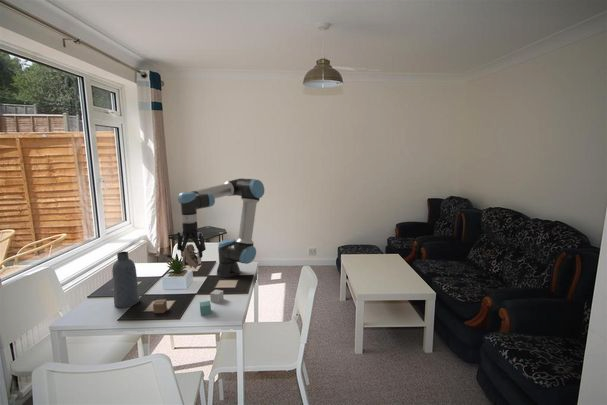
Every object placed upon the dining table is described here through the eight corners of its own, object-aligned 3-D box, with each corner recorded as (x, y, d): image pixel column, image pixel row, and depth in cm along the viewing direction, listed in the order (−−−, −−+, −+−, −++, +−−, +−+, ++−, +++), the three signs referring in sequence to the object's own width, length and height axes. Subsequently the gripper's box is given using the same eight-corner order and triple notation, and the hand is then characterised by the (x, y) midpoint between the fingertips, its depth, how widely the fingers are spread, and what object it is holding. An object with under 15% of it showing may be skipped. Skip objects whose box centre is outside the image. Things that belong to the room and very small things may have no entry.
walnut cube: (157, 308, 171) (156, 299, 170) (166, 308, 171) (166, 299, 171) (153, 313, 166) (152, 304, 165) (163, 313, 166) (163, 303, 166)
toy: (206, 263, 179) (197, 240, 173) (196, 273, 172) (187, 250, 166) (193, 262, 183) (184, 240, 176) (183, 272, 176) (173, 249, 169)
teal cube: (200, 311, 168) (199, 302, 167) (210, 309, 170) (209, 300, 169) (200, 316, 164) (200, 306, 163) (211, 314, 165) (210, 305, 164)
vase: (113, 310, 169) (108, 258, 165) (114, 300, 180) (110, 251, 175) (139, 305, 175) (135, 254, 170) (139, 296, 185) (135, 248, 181)
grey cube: (215, 297, 183) (215, 289, 183) (223, 299, 182) (223, 290, 181) (210, 301, 179) (210, 293, 178) (218, 303, 177) (218, 294, 176)
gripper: (167, 222, 170) (170, 264, 174) (204, 224, 167) (207, 266, 170) (175, 219, 177) (178, 259, 181) (211, 220, 174) (213, 261, 178)
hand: (192, 262), depth 176 cm, fingers closed on toy, 8 cm apart
